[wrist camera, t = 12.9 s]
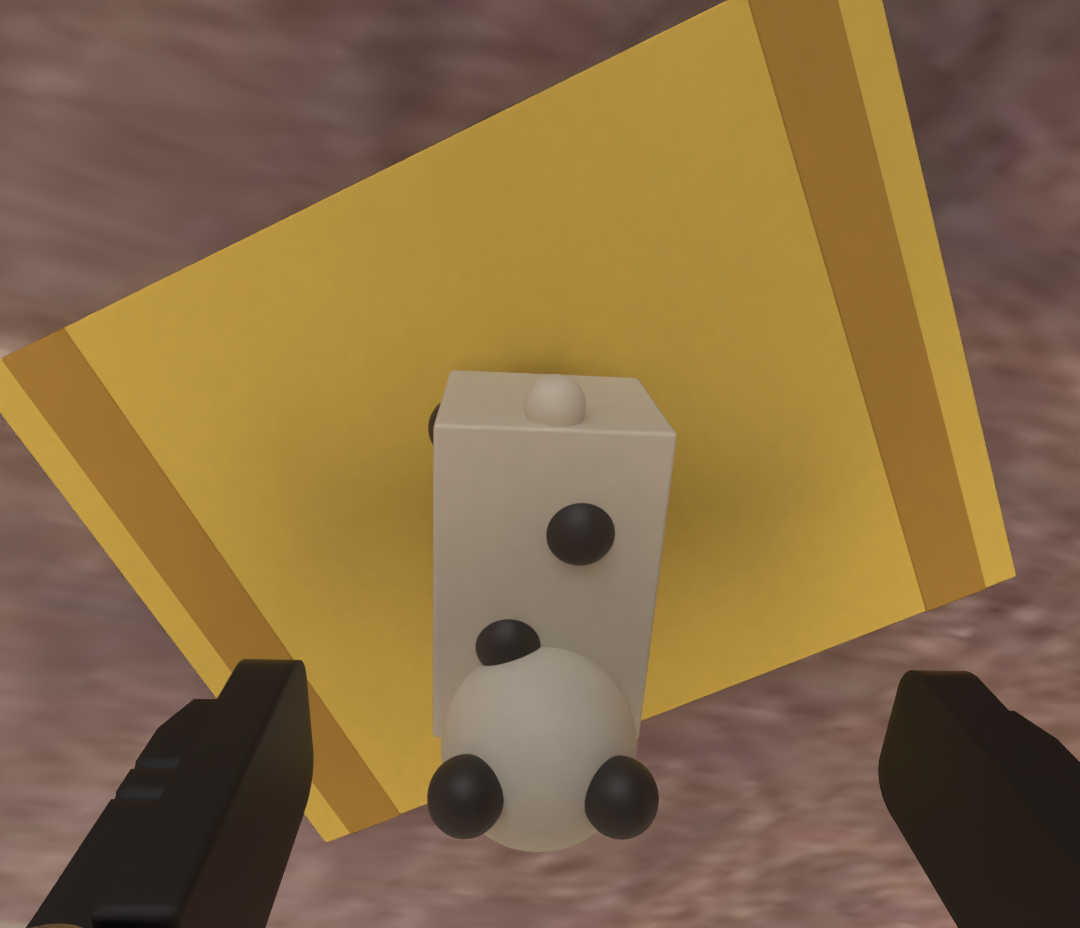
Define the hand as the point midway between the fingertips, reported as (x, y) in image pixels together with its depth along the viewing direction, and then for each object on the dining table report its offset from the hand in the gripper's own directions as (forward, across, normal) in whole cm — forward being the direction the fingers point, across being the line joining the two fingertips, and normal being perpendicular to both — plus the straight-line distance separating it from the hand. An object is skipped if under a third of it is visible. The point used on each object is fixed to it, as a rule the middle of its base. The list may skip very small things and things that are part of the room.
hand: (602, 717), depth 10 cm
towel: (+8, +1, 0) cm, 8 cm away
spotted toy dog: (+8, +1, 0) cm, 8 cm away
